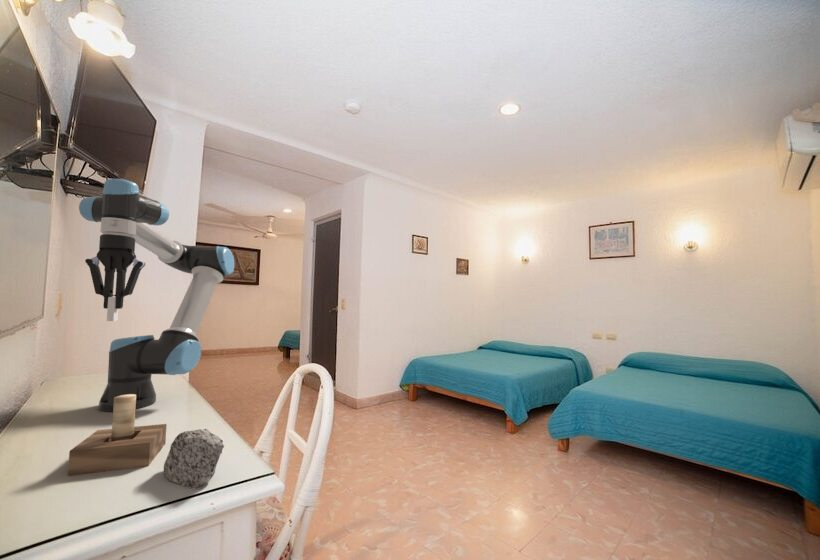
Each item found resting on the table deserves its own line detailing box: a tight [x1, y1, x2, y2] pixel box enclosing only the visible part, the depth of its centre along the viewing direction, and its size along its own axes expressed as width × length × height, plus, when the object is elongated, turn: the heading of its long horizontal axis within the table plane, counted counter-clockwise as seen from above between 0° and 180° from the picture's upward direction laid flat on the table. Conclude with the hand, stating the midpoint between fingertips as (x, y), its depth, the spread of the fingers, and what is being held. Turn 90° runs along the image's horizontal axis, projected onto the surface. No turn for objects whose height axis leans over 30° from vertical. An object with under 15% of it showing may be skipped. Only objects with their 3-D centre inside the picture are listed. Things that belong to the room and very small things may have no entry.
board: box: [67, 423, 168, 476], centre depth 80 cm, size 12×14×5 cm
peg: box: [111, 394, 136, 441], centre depth 80 cm, size 4×4×14 cm
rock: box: [163, 428, 225, 490], centre depth 72 cm, size 16×8×10 cm, turn 47°
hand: (112, 320), depth 94 cm, fingers closed
